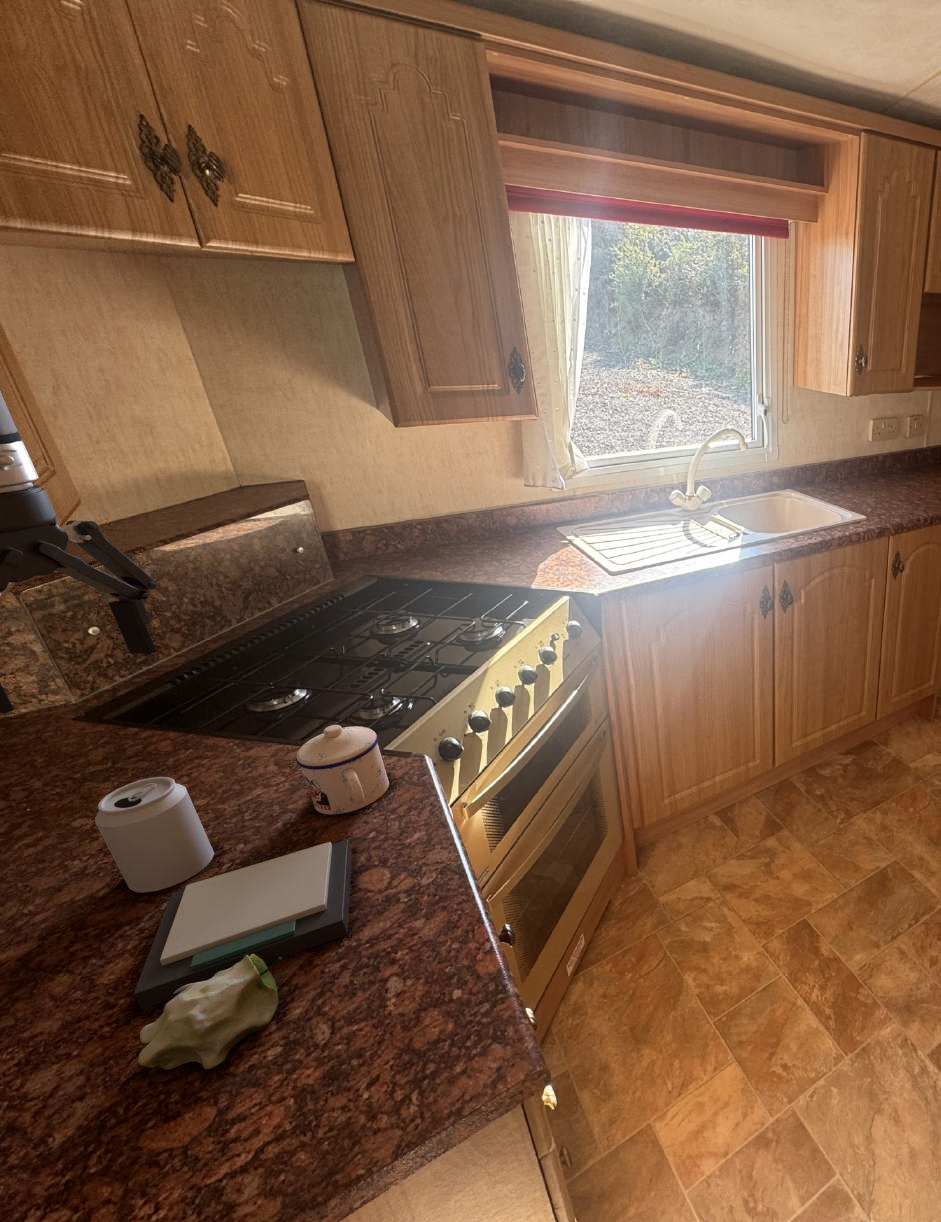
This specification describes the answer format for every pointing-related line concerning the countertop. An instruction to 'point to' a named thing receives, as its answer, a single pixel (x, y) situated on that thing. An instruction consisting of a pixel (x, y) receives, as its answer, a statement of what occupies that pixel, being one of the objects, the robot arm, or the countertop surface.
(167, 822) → the can
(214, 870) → the countertop surface
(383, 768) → the teacup with lid
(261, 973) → the fruit
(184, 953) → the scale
